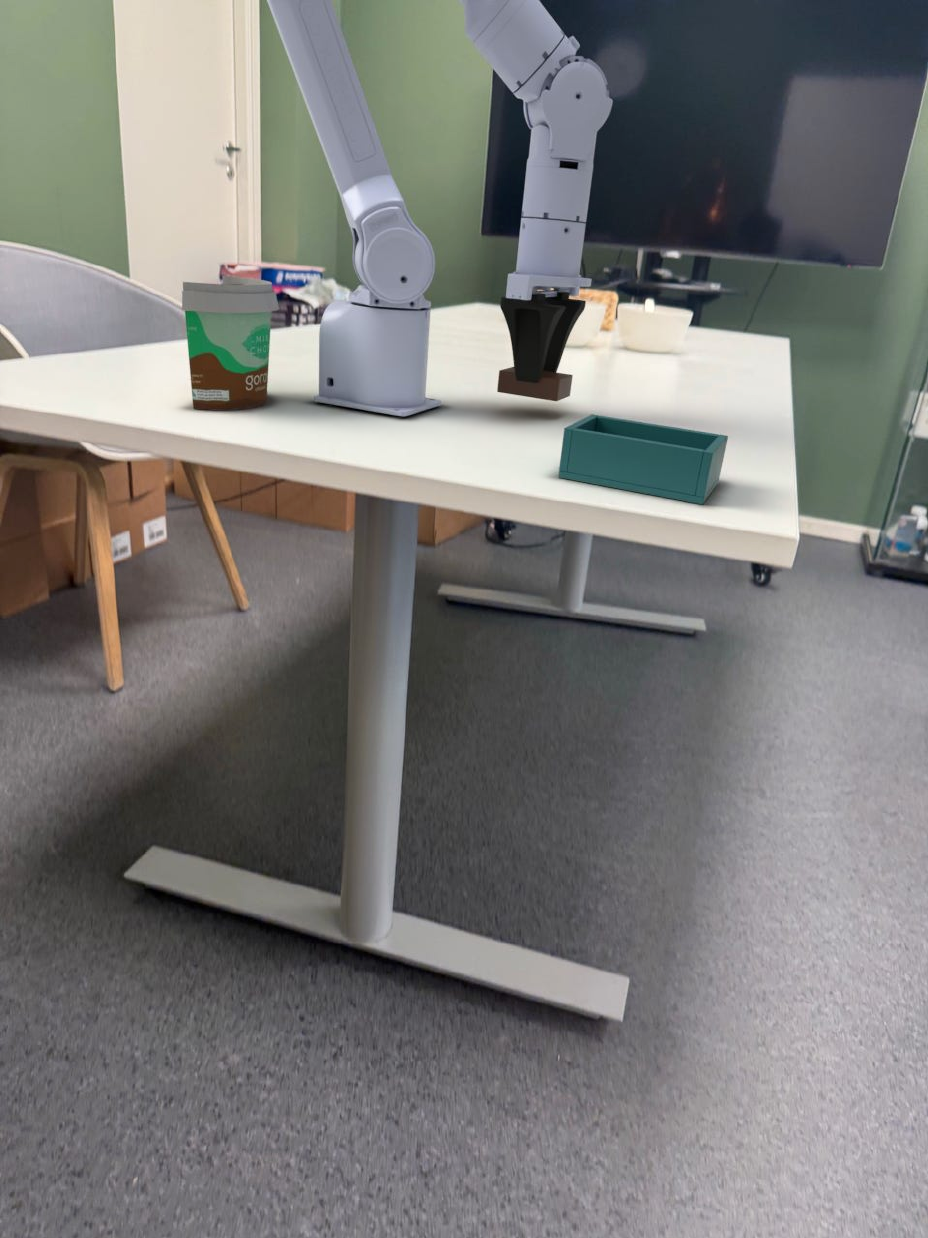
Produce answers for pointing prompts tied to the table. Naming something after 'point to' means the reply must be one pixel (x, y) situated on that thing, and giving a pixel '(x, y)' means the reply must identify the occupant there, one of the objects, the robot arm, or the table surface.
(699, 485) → the open storage box
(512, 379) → the chocolate bar
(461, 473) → the table surface
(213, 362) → the food container
